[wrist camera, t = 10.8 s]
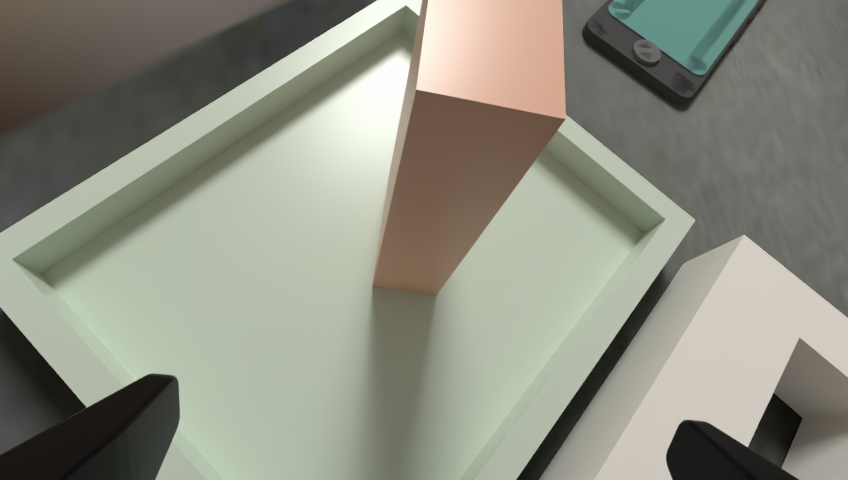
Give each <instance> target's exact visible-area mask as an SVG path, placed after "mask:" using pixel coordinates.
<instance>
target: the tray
mask: <svg viewBox="0 0 848 480" xmlns="http://www.w3.org/2000/svg"><path fill="white" fill-rule="evenodd" d="M421 5H422V0H377V1H376V2H374V3H373V4H371V5H369V6H368V7H366V8H365V9H363V10H361V11H360V12H358V13H356V14H355V15H353V16H352V17H350V18H348V19H347V20H345V21H343V22H342V23H340V24H339V25H337V26H335V27H334V28H332V29H330V30H329V31H327V32H326V33H324V34H322V35H321V36H319V37H317V38H316V39H314V40H313V41H311V42H309V43H308V44H306V45H305V46H303V47H301V48H300V49H298V50H296V51H295V52H293V53H292V54H290V55H288V56H287V57H285V58H283V59H282V60H280V61H279V62H277V63H275V64H274V65H272V66H270V67H269V68H267V69H266V70H264V71H262V72H261V73H259V74H257V75H256V76H254V77H253V78H251V79H249V80H248V81H246V82H244V83H243V84H241V85H240V86H238V87H236V88H235V89H233V90H232V91H230V92H228V93H227V94H225V95H223V96H222V97H220V98H219V99H217V100H215V101H214V102H212V103H210V104H209V105H207V106H206V107H204V108H202V109H201V110H199V111H197V112H196V113H194V114H193V115H191V116H189V117H188V118H186V119H184V120H183V121H181V122H180V123H178V124H176V125H175V126H173V127H172V128H170V129H168V130H167V131H165V132H163V133H162V134H160V135H159V136H157V137H155V138H154V139H152V140H150V141H149V142H147V143H146V144H144V145H142V146H141V147H139V148H137V149H136V150H134V151H133V152H131V153H129V154H128V155H126V156H124V157H123V158H121V159H120V160H118V161H116V162H115V163H113V164H112V165H110V166H108V167H107V168H105V169H103V170H102V171H100V172H99V173H97V174H95V175H94V176H92V177H90V178H89V179H87V180H86V181H84V182H82V183H81V184H79V185H77V186H76V187H74V188H73V189H71V190H69V191H68V192H66V193H64V194H63V195H61V196H60V197H58V198H56V199H55V200H53V201H51V202H50V203H48V204H47V205H45V206H43V207H42V208H40V209H39V210H37V211H35V212H34V213H32V214H30V215H29V216H27V217H26V218H24V219H22V220H21V221H19V222H17V223H16V224H14V225H13V226H11V227H9V228H8V229H6V230H4V231H3V232H1V233H0V307H1V309H2V310H3V311H4V312H5V313H6V314H7V315H8V317H9V318H10V319H11V320H12V321H13V322H14V324H15V325H16V326H17V327H18V328H19V329H20V331H21V332H22V333H23V334H24V335H25V336H26V338H27V339H28V340H29V341H30V342H31V343H32V345H33V346H34V347H35V348H36V349H37V350H38V352H39V353H40V354H41V355H42V356H43V357H44V359H45V360H46V361H47V362H48V363H49V364H50V366H51V367H52V368H53V369H54V370H55V371H56V372H57V374H58V375H59V376H60V377H61V378H62V379H63V381H64V382H65V383H66V384H67V385H68V386H69V388H70V389H71V390H72V391H73V392H74V393H75V395H76V396H77V397H78V398H79V399H80V400H81V402H82V403H83V404H84V405H85V406H86V407H89V406H91V405H92V404H94V403H96V402H98V401H100V400H102V399H103V398H105V397H107V396H109V395H111V394H113V393H114V392H116V391H118V390H120V389H122V388H123V387H125V386H127V385H129V384H131V383H133V382H134V381H136V380H138V379H140V378H142V377H144V376H146V375H148V374H152V373H156V374H168V375H174V376H175V377H177V379H178V383H179V401H180V420H179V424H178V428H177V430H176V433H175V435H174V437H173V440H172V442H171V444H170V447H169V449H168V451H167V454H166V456H165V458H164V461H163V463H162V465H161V468H160V470H159V472H158V475H157V477H156V479H155V480H516V479H517V478H518V476H519V475H520V473H521V472H522V470H523V469H524V468H525V466H526V465H527V463H528V462H529V460H530V459H531V457H532V456H533V455H534V453H535V452H536V450H537V449H538V447H539V446H540V444H541V443H542V441H543V440H544V439H545V437H546V436H547V434H548V433H549V431H550V430H551V428H552V427H553V426H554V424H555V423H556V421H557V420H558V418H559V417H560V415H561V414H562V413H563V411H564V410H565V408H566V407H567V405H568V404H569V402H570V401H571V400H572V398H573V397H574V395H575V394H576V392H577V391H578V389H579V388H580V387H581V385H582V384H583V382H584V381H585V379H586V378H587V376H588V375H589V374H590V372H591V371H592V369H593V368H594V366H595V365H596V363H597V362H598V361H599V359H600V358H601V356H602V355H603V353H604V352H605V350H606V349H607V348H608V346H609V345H610V343H611V342H612V340H613V339H614V337H615V336H616V334H617V333H618V332H619V330H620V329H621V327H622V326H623V324H624V323H625V321H626V320H627V319H628V317H629V316H630V314H631V313H632V311H633V310H634V308H635V307H636V306H637V304H638V303H639V301H640V300H641V298H642V297H643V295H644V294H645V293H646V291H647V290H648V288H649V287H650V285H651V284H652V282H653V281H654V280H655V278H656V277H657V275H658V274H659V272H660V271H661V269H662V268H663V267H664V265H665V264H666V262H667V261H668V259H669V258H670V256H671V255H672V254H673V252H674V251H675V249H676V248H677V246H678V245H679V243H680V242H681V241H682V239H683V238H684V236H685V235H686V233H687V232H688V230H689V229H690V227H691V226H692V225H693V223H694V222H695V219H693V218H692V217H691V216H690V215H688V214H687V213H686V212H685V211H684V210H682V209H681V208H680V207H679V206H677V205H676V204H675V203H674V202H673V201H671V200H670V199H669V198H668V197H666V196H665V195H664V194H663V193H661V192H660V191H659V190H658V189H657V188H655V187H654V186H653V185H652V184H650V183H649V182H648V181H647V180H646V179H644V178H643V177H642V176H641V175H639V174H638V173H637V172H636V171H635V170H633V169H632V168H631V167H630V166H628V165H627V164H626V163H625V162H623V161H622V160H621V159H620V158H619V157H617V156H616V155H615V154H614V153H612V152H611V151H610V150H609V149H608V148H606V147H605V146H604V145H603V144H601V143H600V142H599V141H598V140H596V139H595V138H594V137H593V136H592V135H590V134H589V133H588V132H587V131H585V130H584V129H583V128H582V127H581V126H579V125H578V124H577V123H576V122H574V121H573V120H572V119H571V118H569V117H568V116H567V115H566V119H565V121H564V122H563V124H562V125H561V126H560V128H559V129H558V130H557V132H556V133H555V134H554V136H553V137H552V139H551V140H550V141H549V143H548V144H547V145H546V147H545V148H544V149H543V151H542V152H541V154H540V155H539V156H538V158H537V159H536V160H535V162H534V163H533V165H532V166H531V167H530V169H529V170H528V171H527V173H526V174H525V175H524V177H523V178H522V180H521V181H520V182H519V184H518V185H517V186H516V188H515V189H514V190H513V192H512V193H511V195H510V196H509V197H508V199H507V200H506V201H505V203H504V204H503V205H502V207H501V208H500V210H499V211H498V212H497V214H496V215H495V216H494V218H493V219H492V220H491V222H490V223H489V225H488V226H487V227H486V229H485V230H484V231H483V233H482V234H481V235H480V237H479V238H478V240H477V241H476V242H475V244H474V245H473V246H472V248H471V249H470V250H469V252H468V253H467V255H466V256H465V257H464V259H463V260H462V261H461V263H460V264H459V265H458V267H457V268H456V270H455V271H454V272H453V274H452V275H451V276H450V278H449V279H448V280H447V282H446V283H445V285H444V286H443V287H442V289H441V290H440V291H439V293H438V294H437V295H429V294H422V293H415V292H408V291H401V290H394V289H387V288H380V287H373V286H372V284H373V278H374V271H375V264H376V258H377V251H378V244H379V238H380V231H381V225H382V218H383V211H384V205H385V198H386V191H387V185H388V178H389V172H390V167H391V162H392V156H393V151H394V146H395V141H396V135H397V130H398V125H399V120H400V115H401V109H402V104H403V99H404V94H405V88H406V83H407V78H408V73H409V67H410V62H411V57H412V52H413V46H414V41H415V36H416V31H417V25H418V20H419V15H420V10H421Z"/></svg>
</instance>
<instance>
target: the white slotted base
mask: <svg viewBox="0 0 848 480" xmlns="http://www.w3.org/2000/svg"><path fill="white" fill-rule="evenodd" d="M773 393H774V394H775V395H777V396H778V397H779V398H780V399H781V400H782V401H784V402H785V403H786V404H787V405H788V406H789V407H791V408H792V409H793V410H794V411H795V412H796V413H798V414H799V415H800V416H801V417H802V418H803V419H802V421H801V423H800V426H799V428H798V430H797V433H796V435H795V437H794V440H793V442H792V444H791V447H790V449H789V451H788V454H787V456H786V458H785V461H784V463H783V465H782V469H783V470H785V471H786V472H788V473H790V474H791V475H793V476H794V477H796V478H798V479H799V480H848V318H847V317H846V316H844V315H843V314H842V313H841V312H839V311H838V310H837V309H836V308H835V307H833V306H832V305H831V304H830V303H828V302H827V301H826V300H825V299H823V298H822V297H821V296H820V295H818V294H817V293H816V292H815V291H813V290H812V289H811V288H810V287H808V286H807V285H806V284H805V283H803V282H802V281H801V280H800V279H799V278H797V277H796V276H795V275H794V274H792V273H791V272H790V271H789V270H787V269H786V268H785V267H784V266H782V265H781V264H780V263H779V262H777V261H776V260H775V259H774V258H772V257H771V256H770V255H769V254H767V253H766V252H765V251H764V250H763V249H761V248H760V247H759V246H758V245H756V244H755V243H754V242H753V241H751V240H750V239H749V238H748V237H746V236H745V235H743V236H741V237H739V238H736V239H734V240H732V241H730V242H728V243H726V244H724V245H722V246H720V247H717V248H715V249H713V250H711V251H709V252H707V253H705V254H703V255H701V256H698V257H696V258H694V259H692V260H690V261H688V262H686V263H684V264H683V265H682V266H681V268H680V269H679V271H678V272H677V274H676V275H675V277H674V278H673V280H672V281H671V283H670V284H669V286H668V287H667V289H666V290H665V292H664V293H663V295H662V296H661V298H660V299H659V301H658V302H657V304H656V305H655V307H654V308H653V310H652V311H651V313H650V314H649V316H648V317H647V319H646V320H645V322H644V323H643V325H642V326H641V328H640V329H639V331H638V332H637V334H636V335H635V337H634V338H633V340H632V341H631V343H630V344H629V346H628V347H627V349H626V350H625V352H624V353H623V355H622V356H621V358H620V359H619V361H618V362H617V364H616V365H615V367H614V368H613V370H612V371H611V373H610V374H609V376H608V377H607V379H606V380H605V382H604V383H603V385H602V386H601V388H600V389H599V391H598V392H597V394H596V395H595V397H594V398H593V399H592V401H591V402H590V404H589V405H588V407H587V408H586V410H585V411H584V413H583V414H582V416H581V417H580V419H579V420H578V422H577V423H576V425H575V426H574V428H573V429H572V431H571V432H570V434H569V435H568V437H567V438H566V440H565V441H564V443H563V444H562V446H561V447H560V449H559V450H558V452H557V453H556V455H555V456H554V458H553V459H552V461H551V462H550V464H549V465H548V467H547V468H546V470H545V471H544V473H543V474H542V476H541V477H540V479H539V480H672V477H671V475H670V472H669V470H668V467H667V463H666V453H667V450H668V448H669V445H670V443H671V441H672V439H673V436H674V434H675V432H676V430H677V427H678V425H679V424H680V423H681V422H682V421H683V420H698V421H705V422H708V423H710V424H711V425H713V426H715V427H716V428H718V429H719V430H721V431H723V432H724V433H726V434H727V435H729V436H731V437H732V438H734V439H735V440H737V441H739V442H740V443H742V444H743V445H745V446H747V447H748V445H749V443H750V441H751V439H752V437H753V435H754V433H755V431H756V428H757V426H758V424H759V422H760V420H761V418H762V416H763V414H764V411H765V409H766V407H767V405H768V403H769V401H770V399H771V397H772V395H773Z"/></svg>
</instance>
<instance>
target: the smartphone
mask: <svg viewBox="0 0 848 480" xmlns="http://www.w3.org/2000/svg"><path fill="white" fill-rule="evenodd" d="M764 1H765V0H608V1H607V2H606V3H605V4H604V5H603V6H602V7H601V8H600V9H599V10H598V11H597V12H596V13H595V14H594V15H593V16H592V17H591V18H590V19H589V20H588V21H587V23H586V24H585V26H584V28H583V30H582V34H583V37H584V38H585V39H586V40H587V41H588V42H590V43H591V44H592V45H594V46H595V47H596V48H598V49H599V50H601V51H602V52H603V53H605V54H606V55H608V56H609V57H610V58H612V59H613V60H614V61H616V62H617V63H619V64H620V65H621V66H623V67H624V68H625V69H627V70H628V71H630V72H631V73H632V74H634V75H635V76H636V77H638V78H639V79H641V80H642V81H643V82H645V83H646V84H648V85H649V86H650V87H652V88H653V89H654V90H656V91H657V92H659V93H660V94H661V95H663V96H664V97H665V98H667V99H668V100H670V101H671V102H672V103H675V104H681V105H682V104H684V103H686V102H687V101H688V100H689V99H690V98H691V97H692V96H693V95H694V94H695V93H696V91H697V90H698V88H699V87H700V86H701V84H702V83H703V81H704V80H705V79H706V77H707V76H708V74H709V73H710V72H711V70H712V69H713V68H714V66H715V65H716V63H717V62H718V61H719V59H720V58H721V56H722V55H723V54H724V52H725V51H726V50H727V48H728V47H729V46H732V45H733V44H734V43H735V41H736V40H737V39H738V37H739V36H740V34H741V33H742V32H743V30H744V29H745V27H746V26H747V25H746V24H748V23H749V22H750V20H751V19H752V18H753V16H754V15H755V14H756V12H757V11H758V9H759V8H760V7H761V5H762V4H763V2H764Z"/></svg>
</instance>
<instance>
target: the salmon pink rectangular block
mask: <svg viewBox="0 0 848 480" xmlns="http://www.w3.org/2000/svg"><path fill="white" fill-rule="evenodd" d="M565 119H566V111H565V80H564V49H563V17H562V0H422V5H421V10H420V15H419V20H418V25H417V31H416V36H415V41H414V46H413V52H412V57H411V62H410V67H409V73H408V78H407V83H406V88H405V94H404V99H403V104H402V109H401V115H400V120H399V125H398V130H397V135H396V141H395V146H394V151H393V156H392V162H391V167H390V172H389V178H388V185H387V191H386V198H385V205H384V211H383V218H382V225H381V231H380V238H379V244H378V251H377V258H376V264H375V271H374V278H373V284H372V286H373V287H380V288H387V289H394V290H401V291H408V292H415V293H422V294H429V295H437V294H438V293H439V291H440V290H441V289H442V287H443V286H444V285H445V283H446V282H447V280H448V279H449V278H450V276H451V275H452V274H453V272H454V271H455V270H456V268H457V267H458V265H459V264H460V263H461V261H462V260H463V259H464V257H465V256H466V255H467V253H468V252H469V250H470V249H471V248H472V246H473V245H474V244H475V242H476V241H477V240H478V238H479V237H480V235H481V234H482V233H483V231H484V230H485V229H486V227H487V226H488V225H489V223H490V222H491V220H492V219H493V218H494V216H495V215H496V214H497V212H498V211H499V210H500V208H501V207H502V205H503V204H504V203H505V201H506V200H507V199H508V197H509V196H510V195H511V193H512V192H513V190H514V189H515V188H516V186H517V185H518V184H519V182H520V181H521V180H522V178H523V177H524V175H525V174H526V173H527V171H528V170H529V169H530V167H531V166H532V165H533V163H534V162H535V160H536V159H537V158H538V156H539V155H540V154H541V152H542V151H543V149H544V148H545V147H546V145H547V144H548V143H549V141H550V140H551V139H552V137H553V136H554V134H555V133H556V132H557V130H558V129H559V128H560V126H561V125H562V124H563V122H564V121H565Z"/></svg>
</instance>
